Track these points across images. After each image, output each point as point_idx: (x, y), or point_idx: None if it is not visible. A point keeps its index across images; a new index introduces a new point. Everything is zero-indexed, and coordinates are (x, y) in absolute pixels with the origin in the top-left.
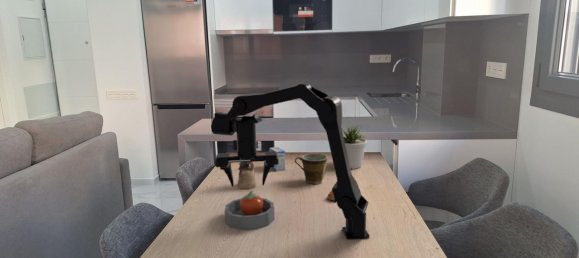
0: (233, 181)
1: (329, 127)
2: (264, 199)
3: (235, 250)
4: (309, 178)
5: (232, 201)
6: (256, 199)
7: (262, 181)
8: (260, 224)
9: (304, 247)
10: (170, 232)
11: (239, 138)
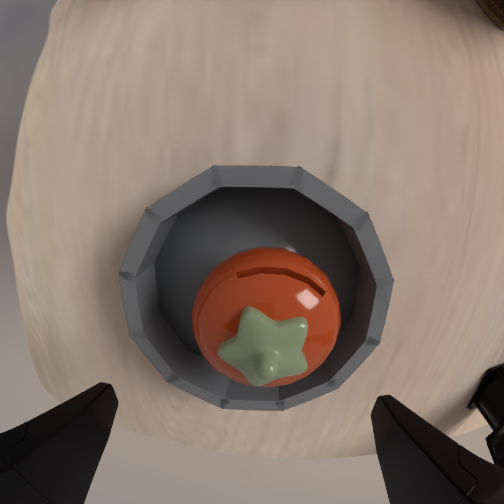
0: (95, 415)
1: None
2: (355, 222)
3: (215, 447)
4: (497, 9)
5: (146, 223)
6: (299, 375)
7: (377, 453)
8: None
9: None
10: (30, 325)
11: None
